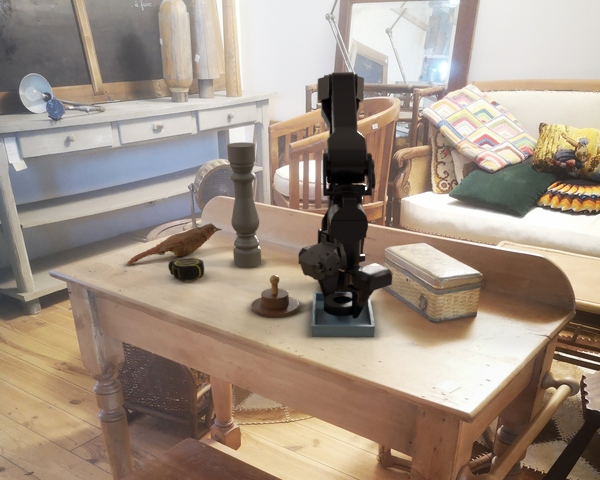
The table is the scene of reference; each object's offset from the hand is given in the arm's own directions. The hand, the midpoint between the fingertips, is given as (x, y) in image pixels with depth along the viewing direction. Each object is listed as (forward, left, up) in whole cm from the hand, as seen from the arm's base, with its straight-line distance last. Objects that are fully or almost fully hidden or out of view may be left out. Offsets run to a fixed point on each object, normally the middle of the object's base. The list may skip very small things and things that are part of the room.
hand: (341, 311), depth 108 cm
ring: (0, 0, +1) cm, 1 cm away
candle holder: (-29, -20, -2) cm, 36 cm away
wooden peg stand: (-4, -12, -1) cm, 13 cm away
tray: (0, 0, -1) cm, 1 cm away
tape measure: (-20, -33, -2) cm, 39 cm away
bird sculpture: (-35, -38, -2) cm, 52 cm away
